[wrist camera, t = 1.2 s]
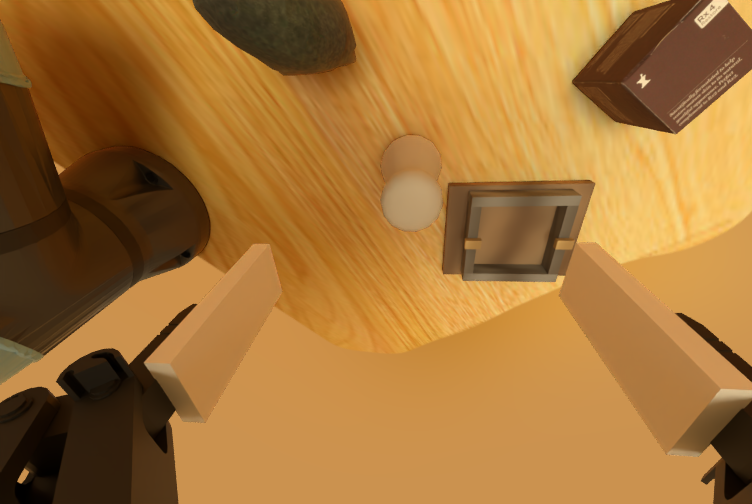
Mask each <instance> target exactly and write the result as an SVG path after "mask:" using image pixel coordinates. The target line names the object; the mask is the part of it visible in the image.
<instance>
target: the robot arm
mask: <svg viewBox="0 0 752 504" xmlns="http://www.w3.org/2000/svg"><path fill="white" fill-rule="evenodd" d="M31 87H32V84H31V81H30V79H29V78H28V77H27V76H25V75H24V74H23V71H22V69H21V67H20V64H19V62H18V60H17V57H16V55H15V52H14V50H13V48H12V45H11V43H10V40H9V38H8V36H7V33H6V31H5V28H4V26H3V24H2V22H1V20H0V385H1V384H2V383H3V382H5V381H7V380H8V379H9V378H11V377H12V376H14V375H15V374H17V373H18V372H19V371H21V370H22V369H24V368H25V367H26V366H28V365H30V364H31V363H32V362H37V361H39V360H40V359H41V358H43V357H44V355H46V354H47V353H48V352H49V351H50V350H52V349H53V348H55V347H56V346H57V345H58V344H59V343H61V342H62V341H63V340H65V339H66V338H67V337H68V336H70V335H71V334H72V333H74V332H75V331H76V330H77V329H79V328H80V327H81V326H82V325H83V324H85V323H86V322H87V321H89V320H90V319H91V318H93V317H94V316H95V315H96V314H98V313H99V312H100V311H101V310H103V309H104V308H105V307H106V306H108V305H109V304H110V303H112V302H113V301H114V300H115V299H117V298H118V297H119V296H121V295H122V294H123V293H124V292H126V291H127V290H128V289H129V288H131V287H132V286H133V285H135V284H136V283H137V282H139V281H141V280H144V279H147V278H150V277H153V276H155V275H159V274H161V273H164V272H167V271H170V270H173V269H176V268H179V267H181V266H183V265H185V264H187V263H188V262H189V261H191V260H192V259H193V258H194V257H196V256H197V255H198V254H199V253H200V252H201V251H202V250H203V249H204V247H205V246H206V244H207V241H208V238H209V233H210V224H209V217H208V214H207V210H206V208H205V205H204V203H203V201H202V199H201V197H200V196H199V194H198V192H197V191H196V189H195V188H194V187H193V185H192V184H191V183H190V182H189V181H188V179H187V178H186V177H185V176H184V175H183V174H182V173H181V172H179V171H178V170H177V169H176V168H175V167H173V166H172V165H171V164H169V163H168V162H166V161H165V160H163V159H162V158H160V157H158V156H156V155H154V154H152V153H150V152H147V151H145V150H142V149H138V148H134V147H127V146H116V147H110V148H106V149H102V150H98V151H94V152H91V153H89V154H86V155H84V156H83V157H81V158H80V159H78V160H77V161H76V162H74V163H73V164H72V165H71V166H69V167H68V168H67V169H66V170H64V171H63V172H62V173H61V174H59V175H58V172H57V170H56V167H55V164H54V161H53V159H52V156H51V153H50V150H49V147H48V144H47V141H46V138H45V135H44V132H43V129H42V126H41V124H40V121H39V118H38V115H37V112H36V109H35V106H34V103H33V100H32V97H31V94H30V92H29V89H28V88H31ZM281 293H282V288H281V284H280V281H279V277H278V273H277V270H276V266H275V262H274V259H273V255H272V251H271V247H270V244H253V245H252V246H251V247H250V248H249V249H248V250H247V252H246V253H245V254H244V255H243V256H242V257H241V258H240V259H239V260H238V261H237V262H236V263H235V264H234V266H233V267H232V268H231V269H230V270H229V271H228V272H227V273H226V274H225V275H224V276H223V277H222V279H221V280H220V281H219V282H218V283H217V284H216V285H215V286H214V287H213V288H212V289H211V290H210V291H209V293H208V294H207V295H206V296H205V297H204V298H203V299H202V300H201V301H200V302H199V303H198V304H192V305H191V306H189V307H188V308H186V309H184V310H183V311H182V312H180V313H179V314H178V315H177V316H176V317H175V318H174V319H173V320H172V321H171V322H170V323H169V325H168V326H166V327H165V328H164V329H163V330H162V331H161V332H160V335H157V336H156V337H155V338H154V340H153V341H151V342H150V344H149V345H148V346H147V347H146V348H145V349H144V350H143V351H142V352H141V353H140V354H139V355H138V356H137V357H136V358H135V359H134V360H133V361H132V362H131V363H130V364H129V365H128V363H127V362H126V361H125V359H124V358H123V356H122V355H121V353H120V352H119V351H118V350H115V349H113V348H112V349H102V350H98V351H95V352H92V353H90V354H88V355H86V356H83V357H81V358H80V359H78V360H77V361H75V362H74V363H72V364H71V365H69V366H68V367H67V368H66V369H65V370H64V371H63V372H62V373H61V374H60V376H59V377H58V379H57V381H56V382H57V383H58V384H59V385H60V386H61V387H62V389H64V391H65V392H66V393H67V394H68V395H63V396H59V397H55V396H54V395H53V394H52V393H51V392H50V391H49V390H48V389H47V388H44V387H36V388H30V389H27V390H25V391H22V392H19V393H17V394H15V395H13V396H11V397H9V398H7V399H5V400H4V401H2V402H1V403H0V504H178V494H177V483H176V471H175V460H174V449H173V437H172V428H171V425H170V423H169V421H168V420H169V419H170V417H171V416H172V414H173V413H174V412H175V410H176V412H177V413H178V415H179V416H180V418H181V419H182V421H185V422H200V423H205V422H206V421H207V419H208V417H209V416H210V414H211V412H212V411H213V409H214V407H215V406H216V404H217V402H218V400H219V399H220V397H221V395H222V393H223V392H224V390H225V389H226V387H227V385H228V383H229V382H230V380H231V378H232V377H233V375H234V373H235V371H236V370H237V368H238V366H239V365H240V363H241V361H242V360H243V358H244V356H245V354H246V352H247V351H248V349H249V348H250V346H251V344H252V343H253V341H254V339H255V337H256V335H257V334H258V332H259V331H260V329H261V327H262V326H263V324H264V322H265V320H266V319H267V317H268V315H269V314H270V312H271V310H272V308H273V307H274V305H275V303H276V302H277V300H278V298H279V297H280V295H281ZM559 297H560V298H561V300H562V301H563V303H564V304H565V306H566V307H567V309H568V310H569V312H570V313H571V315H572V316H573V318H574V319H575V320H576V322H577V323H578V325H579V326H580V328H581V329H582V331H583V332H584V334H585V335H586V337H587V338H588V340H589V341H590V343H591V344H592V345H593V347H594V348H595V350H596V351H597V353H598V354H599V356H600V357H601V359H602V360H603V362H604V363H605V365H606V366H607V368H608V369H609V371H610V372H611V374H612V375H613V377H614V378H615V380H616V381H617V382H618V384H619V385H620V387H621V388H622V390H623V391H624V393H625V394H626V396H627V397H628V399H629V400H630V402H631V403H632V404H633V406H634V408H635V409H636V411H637V412H638V413H639V415H640V416H641V418H642V419H643V421H644V422H645V424H646V425H647V427H648V428H649V430H650V431H651V433H652V434H653V436H654V437H655V438H656V440H657V441H658V443H659V444H660V446H661V447H662V449H663V450H664V452H665V453H666V455H680V456H695V457H698V456H700V455H701V454H702V453H703V451H704V450H705V449H706V448H707V447H708V446H709V445H710V444H712V446H713V447H714V448H715V449H716V450H717V452H718V453H719V454H720V455H721V457H722V458H721V459H720V460H719V461H718V462H717V463H716V464H715V465H714V466H713V467H712V468H711V469H710V470H709V471H708V472H707V473H706V474H705V475H704V476H703V478H702V480H701V481H702V482H703V483H705V484H708V483H709V482H710V481H711V480H712V479H715V486H714V502H713V503H714V504H752V367H751V366H750V365H749V364H748V363H747V362H746V361H744V360H743V359H742V358H741V357H740V356H738V355H737V354H736V353H733V352H732V350H731V349H730V348H729V347H728V346H727V345H725V344H724V343H723V342H722V341H721V342H720V341H719V339H718V338H717V337H716V336H715V335H714V334H713V333H711V332H710V331H709V330H708V329H707V328H706V327H704V326H703V325H702V324H700V323H698V322H696V321H695V320H693V319H691V318H689V317H687V316H686V315H684V314H682V313H674V312H673V311H672V310H670V309H669V308H668V307H667V306H666V305H665V304H664V303H663V302H661V301H660V300H659V299H658V298H657V297H656V296H655V295H654V294H653V293H652V292H650V291H649V290H648V289H647V288H646V287H645V286H644V285H643V284H642V283H640V282H639V281H638V280H637V279H636V278H635V277H634V276H632V275H631V274H630V273H629V272H628V271H627V270H626V269H625V268H624V267H623V266H621V265H620V264H619V263H618V262H617V261H616V260H615V259H614V258H613V257H611V256H610V255H609V254H608V253H607V252H606V251H605V250H604V249H602V248H601V247H600V246H599V245H598V244H597V243H576V244H575V247H574V250H573V253H572V256H571V259H570V262H569V266H568V269H567V272H566V275H565V278H564V281H563V284H562V287H561V291H560V294H559ZM24 468H25V469H26V470H28V471H29V474H28V475H27V477H26V479H25V480H24V481H23V483H22V484H20V483H18V482H17V481H18V478H19V476H20V475H21V473H22V471H23V470H24Z"/></svg>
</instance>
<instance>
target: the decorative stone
mask: <svg viewBox="0 0 752 504" xmlns="http://www.w3.org/2000/svg"><path fill="white" fill-rule="evenodd" d="M193 3H194V6H195V9H196V10H197V11H198V12H199V13H200V14H201V16H202V17H203V18H204V19H205V20H206V21H207V22H208V23H209V25H210V26H211V27H212V28H213V29H214V30H215V31H217V32H218V33H219V34H221V35H222V36H223V37H225V38H226V39H227V40H229V41H230V42H232V43H233V44H234V45H236V46H237V47H239V48H240V49H242V50H243V51H245V52H247V53H249V54H250V55H252V56H254V57H256V58H257V59H259V60H260V61H262V62H263V63H264V64H266V65H267V66H269V67H270V68H272V69H274V70H276V71H279V72H280V73H281V74H282V75H307V74H315V73H322V72H328V71H332V70H333V69H335V68H337V67H340V66H345V65H348V64H351V63H353V62H355V61H356V56H355V51H354V50H355V47H356V43H355V39H354V35H353V31H352V27H351V24H350V21H349V18H348V15H347V12H346V10H345V7H344V5H343V3H342V1H341V0H193Z"/></svg>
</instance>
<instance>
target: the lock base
mask: <svg viewBox="0 0 752 504" xmlns="http://www.w3.org/2000/svg"><path fill="white" fill-rule="evenodd" d="M594 186H595V183H594V182H592V181H590V180H581V181H534V182H487V183H449V184H448V198H447V212H446V226H445V240H444V254H443V268H442V270H443V274H461V275H462V279H463V281H522V282H556V279H557V275H561V276H565V275H566V272H567V269H568V266H569V262H570V259H571V256H572V253H573V250H574V247H575V244H576V241H577V238H578V235H579V232H580V229H581V226H582V223H583V220H584V217H585V214H586V211H587V207H588V204H589V201H590V198H591V195H592V192H593V189H594Z"/></svg>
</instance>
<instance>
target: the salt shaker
mask: <svg viewBox="0 0 752 504" xmlns="http://www.w3.org/2000/svg"><path fill="white" fill-rule="evenodd" d="M441 168H442V167H441V157H440V153H439V152H438V150H437V149H436V147H435V146H434V144H433V143H432V142H431V141H429V140H427V139H425V138H424V137H422V136H420V135H405V136H403V137H401V138H399V139H396V140H394V141H393V142H392V143H391V144H390V145H389V147H388V148H387V149H386V150H385V152H384V154H383V158H382V162H381V171H382V175H383V179H384V181H385V185H384V188H383V191H382V195H381V199H380V201H381V206H382V210H383V214H384V216H385V218H386V219H387V220H388V222H389V223H390V224H391V225H392V226H394V227H396V228H398V229H400V230H402V231H412V232H417V231H419V230H422V229H425V228H427V227H429V226H430V225H431V224H432V223H433V222H434V221H435V220H436V219H437V218H438V216H439V214H440V211H441V208H442V205H443V198H442V189H441V187H440V185H439V184H438V182H437V180H438V177H439V174H440V171H441Z"/></svg>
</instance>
